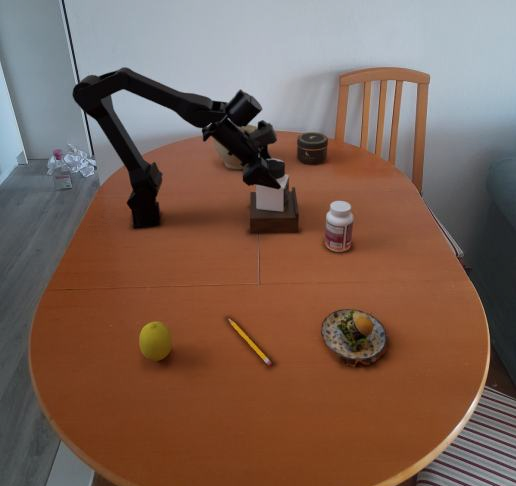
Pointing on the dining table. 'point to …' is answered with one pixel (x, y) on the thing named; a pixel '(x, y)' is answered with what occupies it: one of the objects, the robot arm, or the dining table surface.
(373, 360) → the food bowl
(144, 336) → the lemon
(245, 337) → the pencil
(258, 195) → the medicine bottle
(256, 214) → the dark brown lipped tray
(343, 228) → the pill bottle
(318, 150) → the jar
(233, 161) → the planter bowl
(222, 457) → the dining table surface
